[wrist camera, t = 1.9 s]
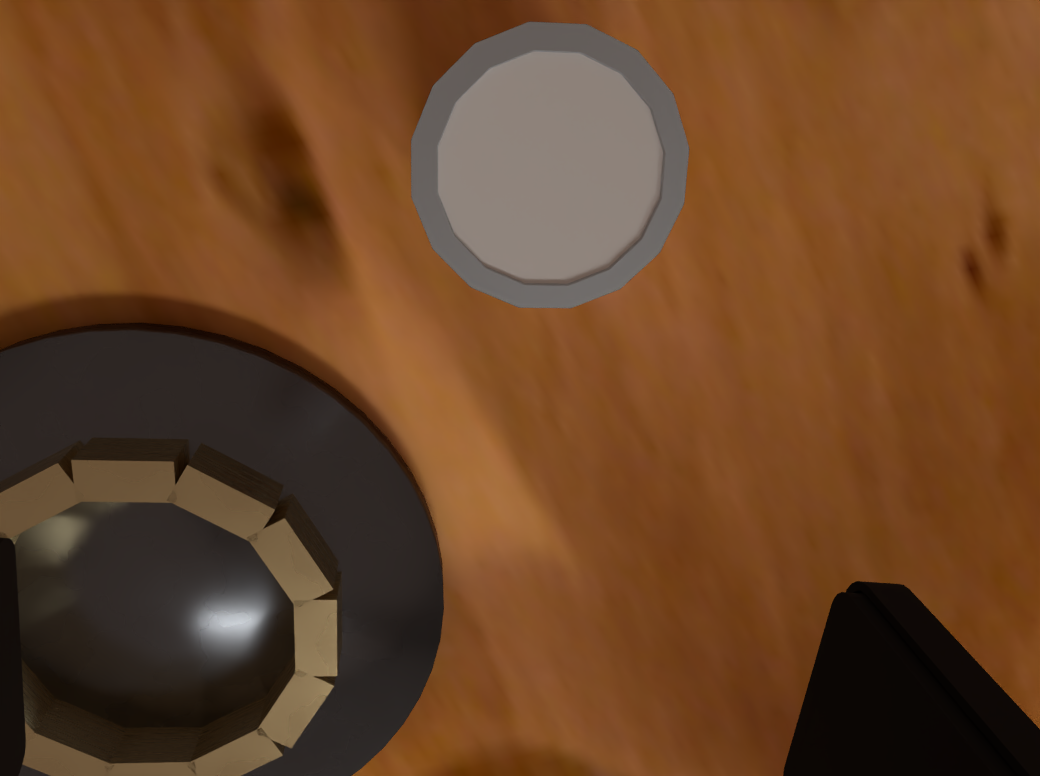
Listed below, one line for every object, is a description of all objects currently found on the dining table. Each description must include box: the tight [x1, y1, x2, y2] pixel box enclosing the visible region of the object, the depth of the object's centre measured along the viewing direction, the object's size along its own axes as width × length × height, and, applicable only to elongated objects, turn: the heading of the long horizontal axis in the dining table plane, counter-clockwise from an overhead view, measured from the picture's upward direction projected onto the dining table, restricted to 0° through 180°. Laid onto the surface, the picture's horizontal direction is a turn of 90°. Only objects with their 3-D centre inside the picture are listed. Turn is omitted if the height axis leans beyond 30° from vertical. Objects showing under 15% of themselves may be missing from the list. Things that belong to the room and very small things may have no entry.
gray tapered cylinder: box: [411, 22, 689, 308], centre depth 25 cm, size 7×7×7 cm
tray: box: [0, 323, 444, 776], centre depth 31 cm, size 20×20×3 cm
